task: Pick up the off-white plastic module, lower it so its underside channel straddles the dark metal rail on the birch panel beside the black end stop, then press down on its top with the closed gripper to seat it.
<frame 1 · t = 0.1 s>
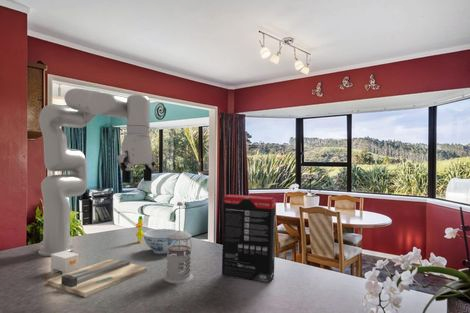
hand: (137, 181, 109), 31 cm above the kitchen counter, tool pointing down, fingers open, 9 cm apart
din panel: (99, 277, 104), on the kitchen counter
french press: (180, 277, 106), on the kitchen counter
chinaware: (161, 251, 133), on the kitchen counter
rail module: (64, 272, 108), on the kitchen counter
toy figure: (139, 242, 146), on the kitchen counter
graphics card box: (248, 278, 106), on the kitchen counter
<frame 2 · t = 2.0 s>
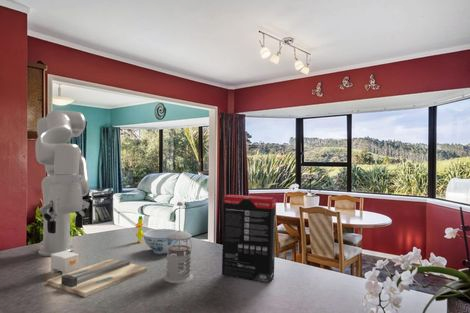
hand: (65, 230, 108), 14 cm above the kitchen counter, tool pointing down, fingers open, 9 cm apart
nothing on the kitchen counter moved.
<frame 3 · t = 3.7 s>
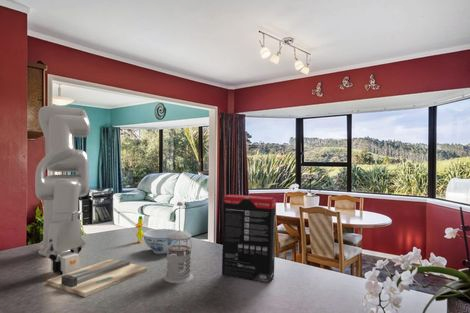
hand: (64, 269, 108), 1 cm above the kitchen counter, tool pointing down, fingers closed on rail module, 5 cm apart
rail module: (64, 271, 108), on the kitchen counter, touching gripper
everything else where it was.
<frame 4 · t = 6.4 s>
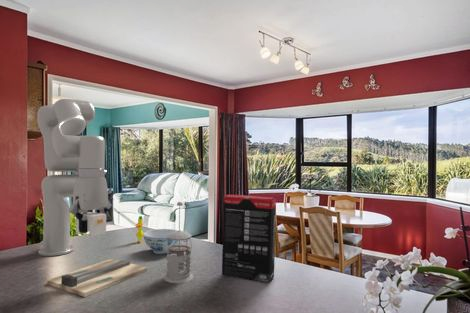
hand: (91, 230, 102), 16 cm above the kitchen counter, tool pointing down, fingers closed on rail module, 5 cm apart
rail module: (91, 232, 102), point 15 cm above the kitchen counter, touching gripper
everything else where it was.
when the fingers open (3 cm above the kitchen counter, at t = 9.2 s): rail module drops 1 cm, resting on din panel.
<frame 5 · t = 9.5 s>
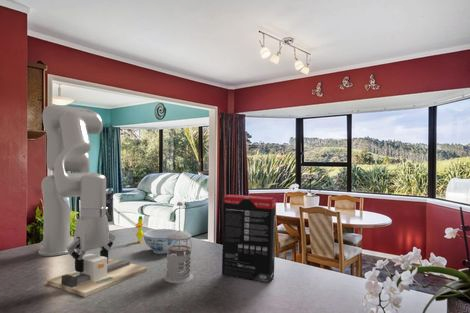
hand: (92, 267, 101), 4 cm above the kitchen counter, tool pointing down, fingers open, 8 cm apart
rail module: (91, 276, 101), point 1 cm above the kitchen counter, touching din panel
everything else where it was.
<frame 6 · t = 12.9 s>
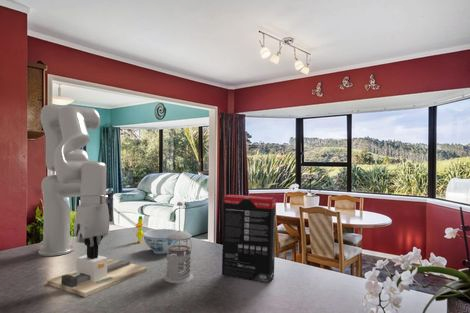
hand: (92, 257, 101), 7 cm above the kitchen counter, tool pointing down, fingers closed
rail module: (91, 276, 101), point 1 cm above the kitchen counter, touching din panel, gripper
everything else where it was.
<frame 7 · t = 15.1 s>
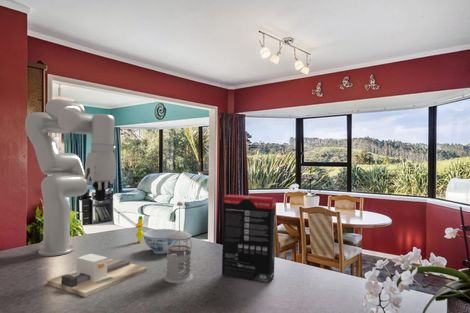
hand: (100, 200, 113), 24 cm above the kitchen counter, tool pointing down, fingers closed
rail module: (91, 276, 101), point 1 cm above the kitchen counter, touching din panel
everything else where it was.
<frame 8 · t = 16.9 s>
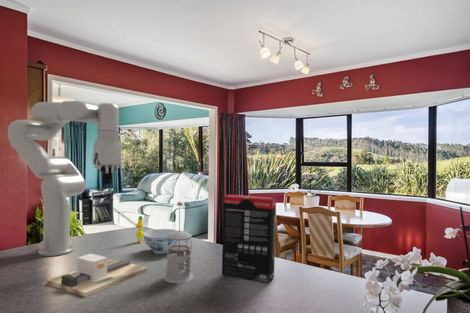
hand: (107, 183, 122), 29 cm above the kitchen counter, tool pointing down, fingers closed
nothing on the kitchen counter moved.
at the end: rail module 0.0 cm from the target spot on the din panel, point 1.2 cm above the din panel's base; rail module tilted 0°; the gripper is holding nothing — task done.
